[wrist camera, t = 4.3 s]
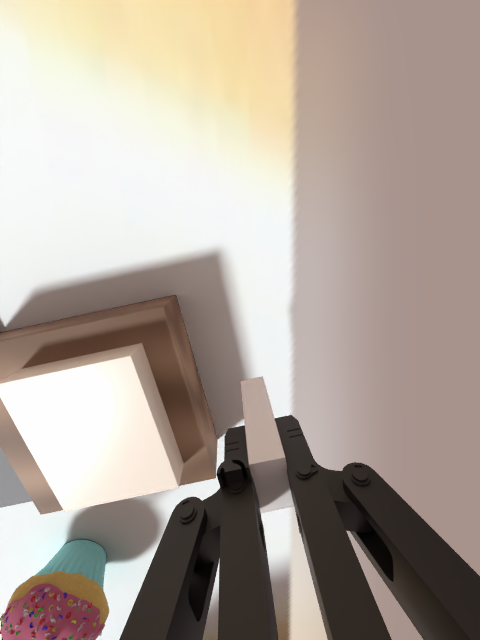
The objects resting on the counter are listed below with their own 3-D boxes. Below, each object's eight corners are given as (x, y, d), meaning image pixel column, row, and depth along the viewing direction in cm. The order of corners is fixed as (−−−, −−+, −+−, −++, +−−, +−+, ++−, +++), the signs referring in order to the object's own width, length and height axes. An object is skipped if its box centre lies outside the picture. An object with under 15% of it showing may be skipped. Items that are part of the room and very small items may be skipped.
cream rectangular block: (183, 463, 19) (178, 487, 17) (80, 485, 19) (64, 511, 17) (142, 342, 16) (130, 355, 14) (21, 368, 16) (-7, 385, 14)
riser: (217, 440, 23) (215, 478, 20) (71, 470, 23) (40, 514, 20) (175, 294, 19) (163, 306, 16) (0, 332, 19) (-56, 353, 16)
